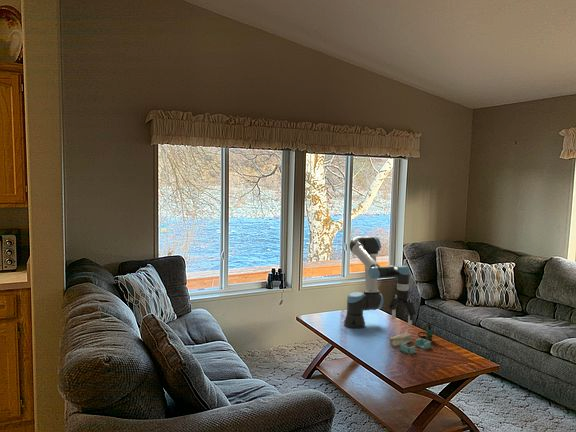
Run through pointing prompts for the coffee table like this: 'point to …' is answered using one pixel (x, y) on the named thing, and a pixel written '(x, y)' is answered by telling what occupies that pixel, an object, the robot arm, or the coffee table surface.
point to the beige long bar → (400, 339)
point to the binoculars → (429, 334)
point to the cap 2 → (423, 343)
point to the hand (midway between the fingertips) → (401, 322)
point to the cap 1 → (407, 349)
